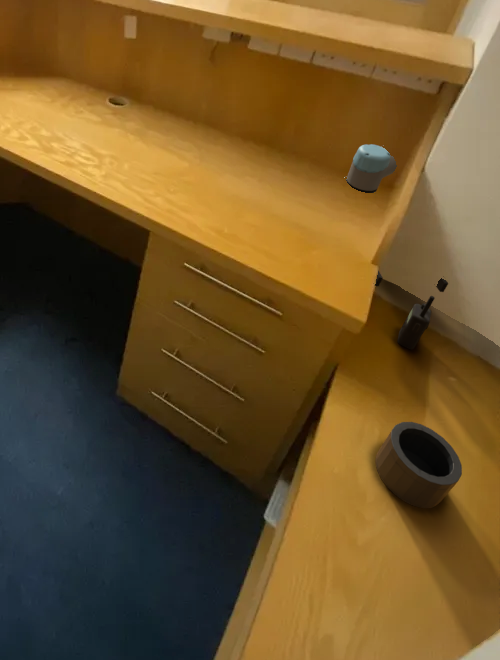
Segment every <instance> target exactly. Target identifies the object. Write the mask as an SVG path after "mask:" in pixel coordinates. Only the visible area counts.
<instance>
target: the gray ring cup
mask: <svg viewBox="0 0 500 660" xmlns="http://www.w3.org/2000/svg"><path fill="white" fill-rule="evenodd" d="M375 467H376V471H377V474H378V476H379V477H380V479H381V481H382V482H383V484H384V485H385V487H387V489H389V491H390V492H392V494H393V495H395V496H396V497H397V498H399V499H400V500H401V501H403V502H405V503H407V504H408V505H410V506H413V507H416V508H420V509H432V508H434V507H436V506H438V505H439V504H440V503H442V501H443V500H444V498H446V497H447V495H448V494H449V493H450V492H451V491H452V489H454V487H455V486H456V484H457V483H458V482H459V481H460V479H461V477H462V475H463V467H462V462H461V459H460V457H459V456H458V453H457V452H456V451H455V449H454V448H453V447H452V445H451V444H450V443H449V442H448V441H447V440H446V438H444V437H443V436H442V435H440V434H439V433H438V432H436V431H434V430H433V429H432V428H430V427H428V426H426V425H424V424H421V423H418V422H413V421H402V422H399V423H397V424H395V425H394V427H393V428H392V429H391V431H390V432H389V434H388V435H387V436H386V438H385V440H384V442H383V443H382V444H381V446H380V448H379V449H378V451H377V452H376V455H375Z"/></svg>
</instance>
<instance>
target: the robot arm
mask: <svg viewBox="0 0 500 660" xmlns="http://www.w3.org/2000/svg"><path fill="white" fill-rule="evenodd" d="M396 167H397V165H396V161H395V159H394V157H393V156H391V155H390V153H389V152H388V151H387V150H386V149H385V148H383V147H382V146H380V145H377V144H374V143H373V144H372V143H371V144H367V143H366V144H362V145H360V146H359V147H358V149H357V150H356V152H355V154H354V156H353V159H352V162H351V165H350V168H349V171H348V173H347V176H346V177H347V179H346V181H347V183H348V184H349V185H350V186H351V187H352V188H354V189H356V190H358V191H361V192H365V193H374V192H376V193H377V191H378V189H379V186H380V184H381V181H382V179H383V178H386V177H388V176H390V175H392V174H394V173H395V172H394V171H395V169H396ZM393 172H394V173H393ZM383 279H384V277H383V276H382V274H381V272H380V271H379V270H378V275H377V279H376V284H375V285H374V287H379V286H380V284H381V283H382V280H383ZM448 285H449V282H448V280H444V279H442V278H441V279H440V280H439V281H438V284H437V286H435V287H436V289H437V290H438V291H439V292H440V293H444V292H445V290H446V288H447V287H448Z"/></svg>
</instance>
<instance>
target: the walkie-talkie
mask: <svg viewBox="0 0 500 660" xmlns="http://www.w3.org/2000/svg"><path fill="white" fill-rule="evenodd" d="M434 300H435V296H433V295H430V296H429V298H428V299H427V301H426V303H424V302H423V303H422V304H420V303H414V304H413V306H412V308H411V310H410V311H409V313H408V315H407V317H406V319H405V320H404V322H403V324H402V326H401V327H400V330H399V331H398V335H397V343H398V345H400V346H402V347H405V348H407V349H408V350H414V349H415V348H416V346H417V344H418V342H419V341H420V339H421V338H422V336H423V334H424V333H425V330H427V329H428V327H429V324H430V322H431V316H432V310H431V309H430V308H431V306H432V304H433V302H434Z"/></svg>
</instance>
